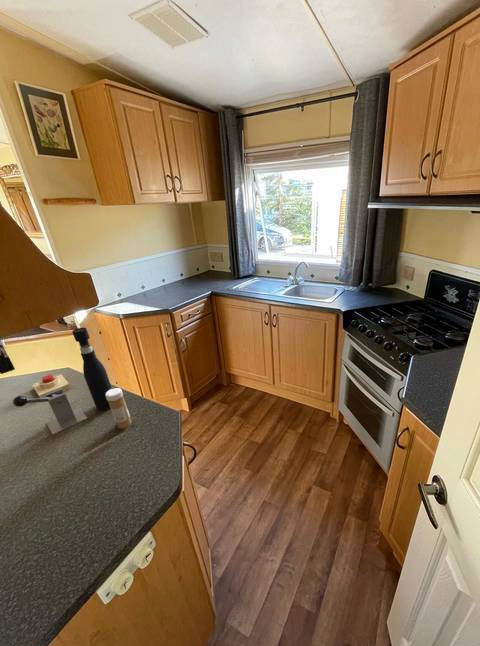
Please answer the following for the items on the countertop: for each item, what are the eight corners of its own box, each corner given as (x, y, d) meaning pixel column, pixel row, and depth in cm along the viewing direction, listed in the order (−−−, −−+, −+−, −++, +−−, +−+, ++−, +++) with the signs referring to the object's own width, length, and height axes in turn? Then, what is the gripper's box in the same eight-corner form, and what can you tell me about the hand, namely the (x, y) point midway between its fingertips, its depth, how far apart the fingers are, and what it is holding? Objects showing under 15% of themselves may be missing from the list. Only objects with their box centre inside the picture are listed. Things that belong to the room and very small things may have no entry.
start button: (55, 380, 114) (53, 376, 114) (44, 384, 112) (43, 380, 111) (53, 377, 117) (51, 373, 116) (42, 381, 114) (40, 377, 114)
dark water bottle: (121, 405, 104) (94, 328, 91) (103, 415, 99) (73, 335, 86) (111, 399, 107) (84, 324, 94) (93, 409, 102) (63, 331, 89)
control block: (70, 388, 116) (67, 380, 114) (41, 400, 109) (36, 391, 107) (62, 378, 123) (59, 370, 121) (34, 388, 117) (30, 380, 115)
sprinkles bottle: (135, 421, 95) (124, 387, 89) (127, 431, 91) (116, 396, 85) (122, 421, 96) (110, 387, 90) (114, 430, 92) (101, 396, 86)
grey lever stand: (53, 437, 90) (38, 406, 85) (47, 426, 95) (33, 396, 90) (88, 420, 97) (76, 391, 92) (81, 410, 102) (69, 382, 97)
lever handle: (13, 409, 83) (14, 398, 83) (11, 404, 85) (12, 394, 85) (63, 405, 92) (64, 395, 92) (60, 401, 94) (61, 391, 94)
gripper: (-47, 307, 78) (-16, 362, 85) (-44, 320, 67) (-9, 382, 74) (-10, 300, 83) (16, 353, 90) (-2, 310, 72) (27, 370, 79)
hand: (5, 366), depth 82 cm, fingers open, 9 cm apart
